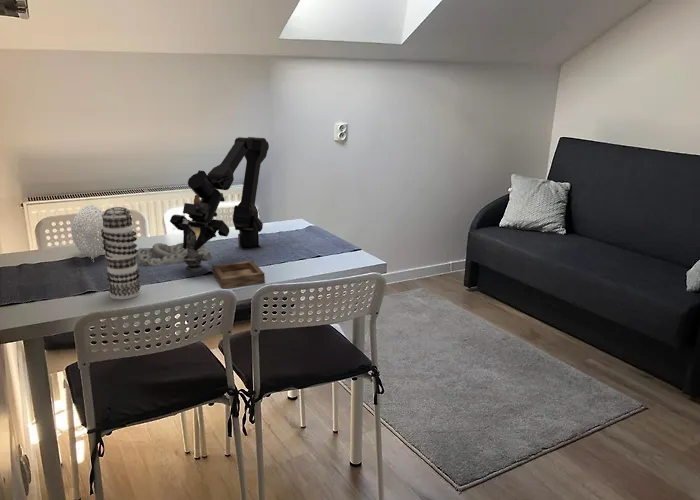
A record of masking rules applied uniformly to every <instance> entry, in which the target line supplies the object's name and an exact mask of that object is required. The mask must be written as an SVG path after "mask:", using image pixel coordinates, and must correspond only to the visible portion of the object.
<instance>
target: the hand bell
mask: <svg viewBox="0 0 700 500" xmlns="http://www.w3.org/2000/svg"><path fill="white" fill-rule="evenodd" d="M200 200H201V198H199V197H198V196H197V195H196V194H194V198H193V204H196V203H200ZM193 231H194V232H195V233H196V234H195V235H196V239H198V236H199V234H200V228H196V227H194V228H193Z"/></svg>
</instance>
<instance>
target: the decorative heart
mask: <svg viewBox="0 0 700 500" xmlns="http://www.w3.org/2000/svg"><path fill="white" fill-rule="evenodd" d="M102 214H104V212H103V211H102V210H101V208H99V207H98V206H96V205H93V204H88V205H85V206H83V207H82V208H81V209H80V210H79V211H78V213H77V214H76V215H75V216H74V217H73V219H72V223H71V227H70V229H71V236H72V240H73V242H74V244H75V247H77V249H78V250H79V251H80V253H82V254H83V255H84V256H86V257H88V258H90V257H91V258H90V259H91V260H92V259H93V260H92V263H94V262H95V260H94V259H96V258H98V257H99V256H100V255H101V254H102V253H103V252H104V251H105V249H103V247H104V244H103V240H104V239H103V237H101V235H102V232H101V231H102V230H101V229H103V218H102V216H101V215H102ZM103 232H104V231H103ZM104 236H105V234H104ZM95 257H96V258H95Z"/></svg>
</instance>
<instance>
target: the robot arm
mask: <svg viewBox="0 0 700 500" xmlns="http://www.w3.org/2000/svg"><path fill="white" fill-rule="evenodd" d="M269 147H270V145H269V142H268V141H267V139H266V138H265V137H255V136H253V137H252V136H248V137H241V136H238V137H236V138H235V140H234V144H233V145H232V147H231V148H230V149H229V151H228V153H227V154H226V155H225V156H224V159H223V160H222V162H221V163H220V164H218V165H217V166H214V167H213V168H212V169H211V170H210V171H209V172H208V173H206V172H205V170H198V171H197V172H196V173H194V174H192V175H191V176H190V177H189V178H188V179H187V185H188V187H189V188H190V190H192V192H193V193H194V195H197V196H198V197H199V198H200V203H196V204H194V203H187V202H184V205H183V209H182V214H187V215H188V217H189V218H187V217H186V216H185V215H182V214H173V215H171V217H170V220H169V222H170V223H171V224H172V225H173V226H174V227H175V228H176V229H177V230H179V231H182V233H183V238H182V239H183V242H182V243H183V248H184V249H186V248H187V247H186V245H187V235H189V234H190V232H192V234H196V233H195V232H194V231H193V228H194V227H196V228H200V234H199V236H198V239H197V241H196V244H195V246H194V250H195V251H197V250H198V249H199V248H200V247H201V246H202V245H205V244H206V243H208V242H209V241H210V240H211V239H213V238H216V237H217V235H216V234H218V236H220V237H226V238H227V237H228V236H229V235H230V227H229V226H228V225H227V224H226V222H224V220H222V219H214V218H216V217H218V213H217V210H218V208H219V205H220V203H221V202H226V199H225V197H224V193H223V192H221V191H228V190H229V189H230V188H231V187H232V185H233V182H234V180H235V177H234V173H235V171H236V170H237V169H238V167H239V165H240V164H241V162H242V160H243V159H244V158H245V161H246V165H245V169H244V170H245V171H244V177H243V184H242V185H243V186H242V193H241V198H240V202H239V203H238V204H237V205H234V207H233V212H232V213H233V214H232V223H233V225H234V230H235V231H238V234H237V240H238V246H239V248H241V249H242V250H251V249H252V250H253V249H258V248H259V249H260V248H261V245H260V240H259V239H260V236H259V235H260V234H259V233H260V232H262V231H263V227H264V226H263V225H264V224H263V222H262V220H261V219H260V218H259V210H258V208H257V206H256V198H257V193H258V192H257V191H258V184H259V177H260V170H261V165H262V163H263V162H264V161H265V159H266V157H267V155H268V150H269ZM220 190H221V191H220ZM190 219H191V220H190Z"/></svg>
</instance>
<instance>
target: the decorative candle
mask: <svg viewBox="0 0 700 500" xmlns="http://www.w3.org/2000/svg"><path fill="white" fill-rule="evenodd" d="M132 215H133V212H132V211H130V210H129V209H128V208H127V207H125V206H112V207H110V208H107V209H105V211H104V212H103V214H102V215H101V216H102V218H103V229H101V230H102V231H101V232H102V235H101V238H102V237H103V239H104V240H103V244H104V247H103V249H104V257H105V258H106V259H107V260H106V261H107V271H106V272H107V273H106V276H107V279H106V280H107V281H108V284H107V287H108V292H109V297H110V298H112V299H113V300H114V299H115V300H128V299H133V298H135V297H137V296H139V295H141V292H142V291H141V287H142V286H141V285H140V283H141V280H140V279H139V278H140V274H139V272H140V269H139V268H138V262H137V256H136V255H137V250H138V249H137V246H138V245H137V244H136V243H135V242H136V241H137V240H138V238H137V237H136V235H137V232H136V231H134V223H133V217H132ZM103 231H104V232H103ZM101 232H100V233H101ZM104 234H105V236H104Z"/></svg>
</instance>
